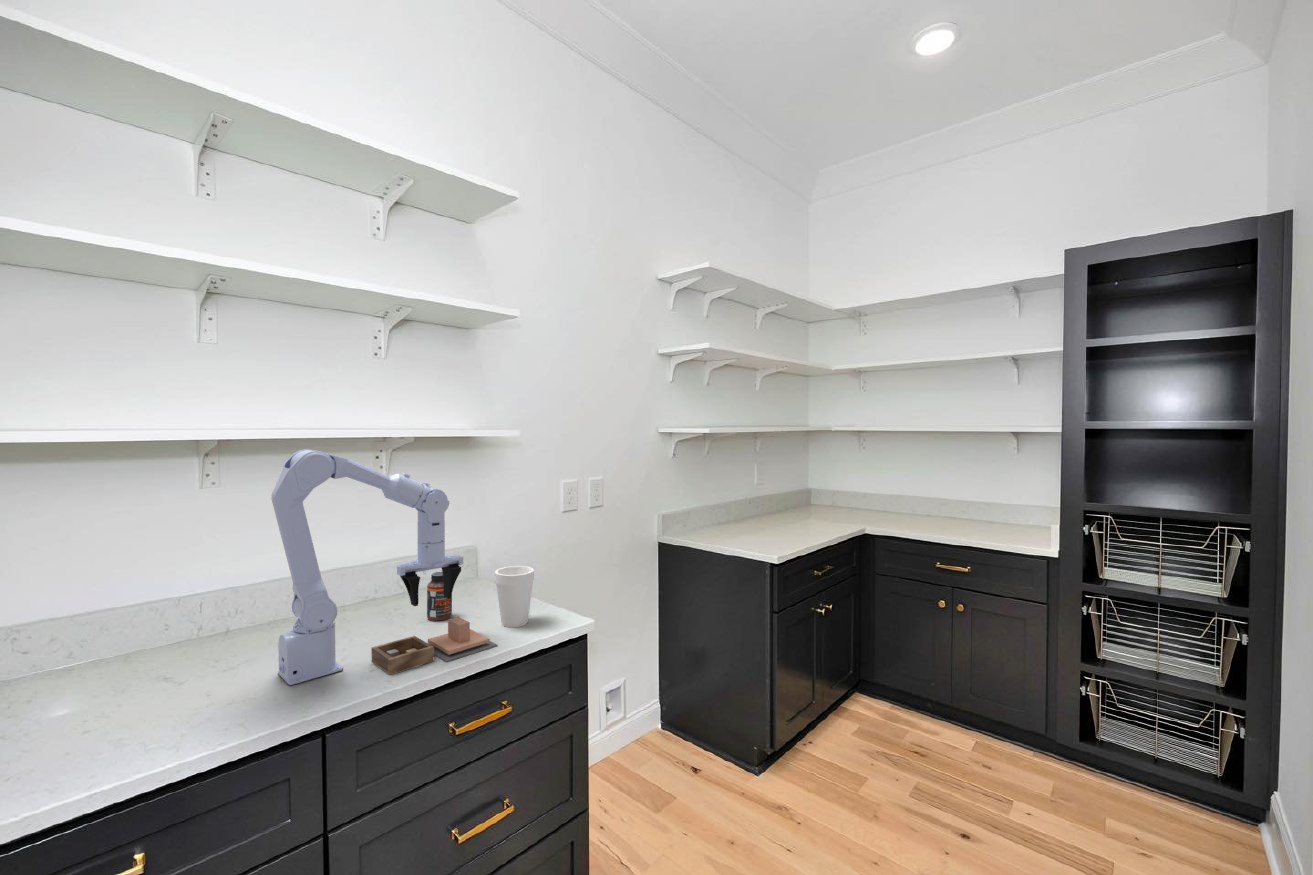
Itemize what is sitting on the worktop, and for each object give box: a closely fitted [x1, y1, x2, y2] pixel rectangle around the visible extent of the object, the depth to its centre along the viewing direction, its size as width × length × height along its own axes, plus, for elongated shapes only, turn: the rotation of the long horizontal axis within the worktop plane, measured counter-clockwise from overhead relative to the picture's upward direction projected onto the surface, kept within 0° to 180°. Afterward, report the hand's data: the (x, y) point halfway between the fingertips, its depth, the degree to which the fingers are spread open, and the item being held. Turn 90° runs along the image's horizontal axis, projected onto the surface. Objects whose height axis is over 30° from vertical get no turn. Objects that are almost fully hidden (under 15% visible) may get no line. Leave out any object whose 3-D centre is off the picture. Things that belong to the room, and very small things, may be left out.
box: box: [371, 635, 435, 676], centre depth 120 cm, size 9×9×3 cm
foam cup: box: [494, 565, 535, 628], centre depth 143 cm, size 10×9×13 cm
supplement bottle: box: [426, 571, 453, 622], centre depth 147 cm, size 6×6×11 cm
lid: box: [427, 616, 491, 655], centre depth 128 cm, size 10×10×5 cm
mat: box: [427, 640, 498, 663], centre depth 128 cm, size 12×12×1 cm
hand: (431, 601), depth 130 cm, fingers open, 7 cm apart
